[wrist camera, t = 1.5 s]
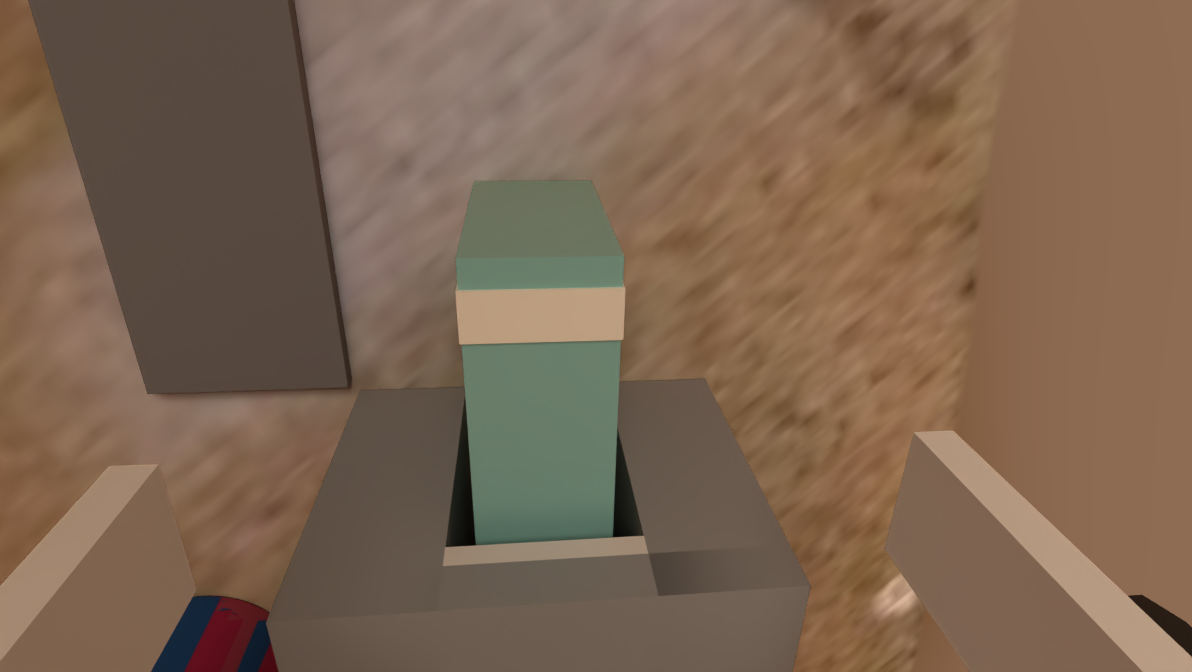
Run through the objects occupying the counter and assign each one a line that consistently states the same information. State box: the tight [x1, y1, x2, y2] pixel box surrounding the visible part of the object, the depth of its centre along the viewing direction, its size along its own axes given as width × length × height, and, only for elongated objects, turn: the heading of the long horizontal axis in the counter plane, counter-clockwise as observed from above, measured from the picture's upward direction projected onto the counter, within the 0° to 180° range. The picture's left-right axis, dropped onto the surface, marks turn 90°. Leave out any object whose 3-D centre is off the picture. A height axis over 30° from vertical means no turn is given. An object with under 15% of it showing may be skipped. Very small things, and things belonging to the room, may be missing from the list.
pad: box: [28, 0, 351, 394], centre depth 22 cm, size 13×7×1 cm, turn 179°
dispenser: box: [266, 379, 811, 672], centre depth 24 cm, size 10×14×11 cm
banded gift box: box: [455, 181, 626, 546], centre depth 22 cm, size 12×4×8 cm, turn 179°
